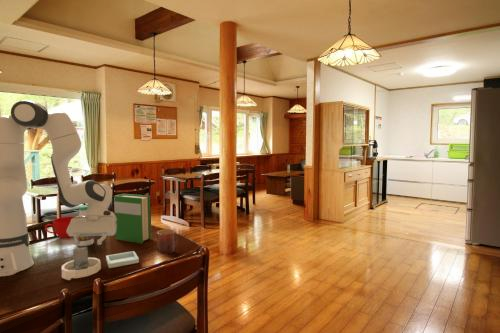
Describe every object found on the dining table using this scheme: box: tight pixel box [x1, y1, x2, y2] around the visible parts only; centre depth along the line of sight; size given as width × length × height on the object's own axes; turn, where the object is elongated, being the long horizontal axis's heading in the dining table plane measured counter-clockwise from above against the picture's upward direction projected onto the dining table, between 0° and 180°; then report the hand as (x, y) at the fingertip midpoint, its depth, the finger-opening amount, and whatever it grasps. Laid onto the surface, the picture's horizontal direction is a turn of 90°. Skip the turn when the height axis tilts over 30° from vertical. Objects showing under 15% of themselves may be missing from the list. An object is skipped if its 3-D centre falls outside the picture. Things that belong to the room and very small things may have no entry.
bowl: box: [61, 257, 102, 281], centre depth 129 cm, size 14×14×4 cm
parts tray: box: [105, 250, 140, 269], centre depth 139 cm, size 12×11×2 cm
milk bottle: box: [77, 205, 95, 247], centre depth 163 cm, size 8×8×20 cm
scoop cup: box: [72, 246, 89, 270], centre depth 129 cm, size 5×5×10 cm
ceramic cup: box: [44, 216, 75, 240], centre depth 174 cm, size 13×17×10 cm
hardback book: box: [113, 193, 152, 244], centre depth 171 cm, size 18×7×24 cm, turn 69°
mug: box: [156, 228, 176, 255], centre depth 153 cm, size 12×9×10 cm
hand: (87, 244), depth 135 cm, fingers open, 8 cm apart
